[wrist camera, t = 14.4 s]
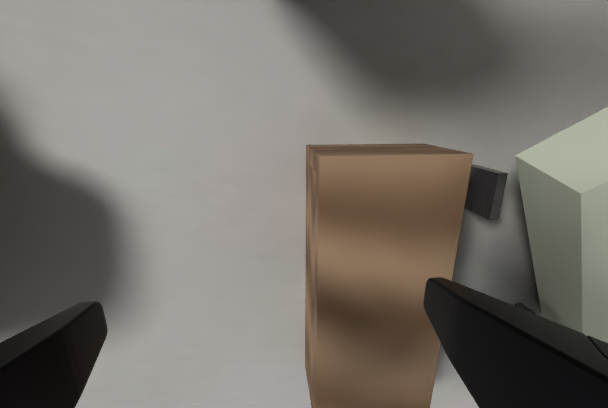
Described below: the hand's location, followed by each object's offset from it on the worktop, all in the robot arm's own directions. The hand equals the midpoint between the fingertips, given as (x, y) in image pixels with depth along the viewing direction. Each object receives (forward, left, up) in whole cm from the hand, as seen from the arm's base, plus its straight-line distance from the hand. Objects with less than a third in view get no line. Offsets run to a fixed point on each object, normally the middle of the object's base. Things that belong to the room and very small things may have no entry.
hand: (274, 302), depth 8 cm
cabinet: (+6, +7, -12) cm, 15 cm away
